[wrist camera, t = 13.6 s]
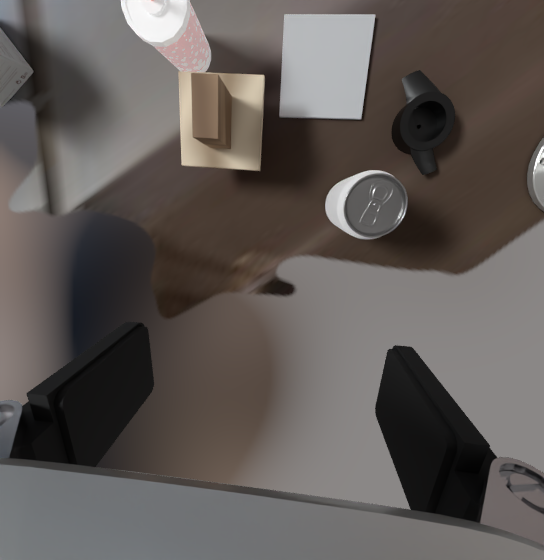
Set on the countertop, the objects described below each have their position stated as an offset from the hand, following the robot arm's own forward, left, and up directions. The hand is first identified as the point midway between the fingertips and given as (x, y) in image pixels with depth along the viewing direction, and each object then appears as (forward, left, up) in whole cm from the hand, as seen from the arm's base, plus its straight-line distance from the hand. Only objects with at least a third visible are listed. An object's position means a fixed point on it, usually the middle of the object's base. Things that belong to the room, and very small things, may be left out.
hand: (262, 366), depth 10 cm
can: (-8, -6, -28) cm, 30 cm away
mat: (-3, -21, -28) cm, 35 cm away
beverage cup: (+13, -22, -28) cm, 38 cm away
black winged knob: (-15, -15, -29) cm, 36 cm away
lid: (+8, -14, -23) cm, 28 cm away
